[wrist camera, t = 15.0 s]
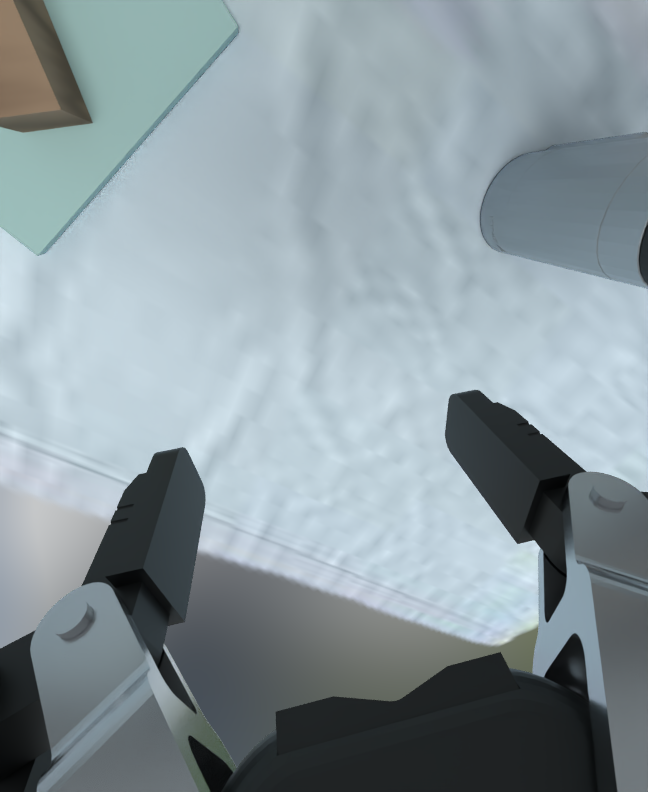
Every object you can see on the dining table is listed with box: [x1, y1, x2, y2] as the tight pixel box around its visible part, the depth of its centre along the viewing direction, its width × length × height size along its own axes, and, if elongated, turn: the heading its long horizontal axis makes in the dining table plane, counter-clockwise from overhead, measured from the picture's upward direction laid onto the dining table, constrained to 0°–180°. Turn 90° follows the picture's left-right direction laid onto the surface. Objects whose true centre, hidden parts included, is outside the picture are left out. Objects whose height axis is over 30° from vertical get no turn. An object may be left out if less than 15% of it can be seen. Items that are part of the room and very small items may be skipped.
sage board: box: [0, 0, 238, 256], centre depth 22 cm, size 24×18×1 cm
